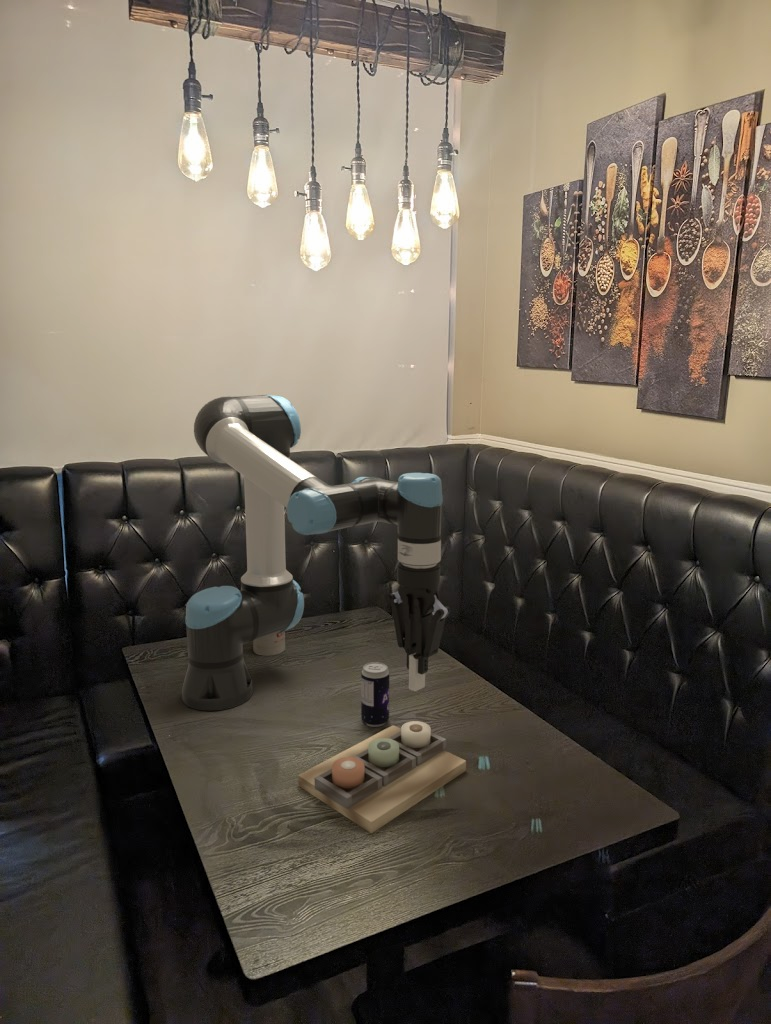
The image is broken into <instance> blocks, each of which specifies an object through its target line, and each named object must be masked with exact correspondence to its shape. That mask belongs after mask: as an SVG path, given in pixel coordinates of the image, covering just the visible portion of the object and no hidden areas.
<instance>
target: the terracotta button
mask: <svg viewBox="0 0 771 1024" xmlns="http://www.w3.org/2000/svg"><path fill="white" fill-rule="evenodd" d="M364 769H365V766H364V763H363V761H362V760H360V759H358V758H355V757H343V758H340V759H337V760H336V761H335V762H334V763H333V764H332V781H333V783H334V784H335V785H336V786H338V787H341V788H354V787H357V786H359V785H361V784H362V783H363V782H364Z"/></svg>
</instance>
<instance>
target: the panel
mask: <svg viewBox="0 0 771 1024" xmlns="http://www.w3.org/2000/svg"><path fill="white" fill-rule="evenodd" d="M379 738H388V739H392V740H394V741H396V742H397V743H398V744H399V761H398V763H397V764H395V765H393V766H390V767H377V766H374V765H372V764H371V763H370V762H369V760H368V745H369V743H370V742H371V741H373V740H375V739H379ZM343 757H355V758H358V759H360V760H362V761H363V763H364V766H365V769H364V782H363V783H362V784H361V785H359V786H357V787H354V788H341V787H338V786H336V785H335V784H334V783H333V781H332V764H333V763H334V762H335V761H336V760H337V759H340V758H343ZM466 771H467V760H465V759H464V758H461V757H459V756H458V755H455V754H453V753H451V752H449V751H447V738H444V737H442V736H440V735H438V734H437V733H434V732H432V731H431V738H430V744H429V745H428V746H426V747H423V748H410V747H407V746H405V745H404V744H403V743H402V742H401V727H398V726H396V725H394V724H392V725H390V726H389V727H386V728H385V729H383V730H381V731H379V732H377V733H375V734H373V735H372V736H370V737H367V738H366V739H364V740H362V741H360V742H358V743H356V744H355V745H352V746H351V747H349V748H347V749H345V750H343V751H340V752H339V753H337V754H335V755H334V756H332V757H330V758H328V759H325V760H324V761H322V762H320V763H318V764H317V765H315V766H313V767H311V768H308V770H307V769H306V771H304V772H302V773H300V774H298V775H297V782H298V783H297V785H298V787H300V788H301V789H303V790H304V791H306V792H307V793H308V794H310V795H312V796H314V797H315V798H316V799H318V800H320V801H322V802H323V803H324V804H326V805H327V806H329V807H331V808H332V809H333V810H335V811H337V812H338V813H340V814H341V815H342V816H344V817H346V818H347V819H349V820H350V821H352V822H353V823H355V824H356V825H358V826H359V827H361V828H363V829H364V830H365V831H366V832H369V833H371V834H373V833H374V832H376V831H378V830H379V829H380V828H382V827H384V826H386V824H388V823H389V822H391V821H392V820H394V819H395V818H397V817H399V816H400V815H402V814H404V813H405V812H406V811H407V810H409V809H410V808H412V807H413V806H415V805H417V804H418V803H419V802H421V801H423V800H424V799H425V798H427V797H429V796H430V795H432V794H433V793H434V792H436V791H437V790H439V789H440V788H442V787H444V786H445V785H446V784H448V783H450V782H451V781H453V780H454V779H456V778H458V777H459V776H460V775H462V774H463V773H465V772H466Z"/></svg>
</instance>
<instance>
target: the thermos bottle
mask: <svg viewBox="0 0 771 1024" xmlns="http://www.w3.org/2000/svg"><path fill="white" fill-rule="evenodd" d="M285 631H286V630H285ZM285 631H284V632H282V633H279V634H274V635H270V636H267V637H264V638H260V639H257V640H254V641H252V642H253V643H252V645H253V647H252V649H253V652H254V654H256V655H258V656H266V657H267V656H276V655H279V654H281V653H283V652H284V651H285V650H286V636H285V635H286V632H285Z"/></svg>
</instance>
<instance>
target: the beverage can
mask: <svg viewBox="0 0 771 1024" xmlns="http://www.w3.org/2000/svg"><path fill="white" fill-rule="evenodd" d="M360 672H361V675H360V677H361V679H360V680H361V681H360V691H361V693H360V694H361V695H360V697H361V698H360V702H361V705H360V709H361V712H360V715H361V717H360V718H361V720H362V722H363V723H364V724H365V725H367V726H368V727H371V728H372V727H373V728H377V727H382V726H384V725H385V724H386V723H387V722H388V721H389V719H390V671H389V667H388V666H387V664H385V663H383V662H378V661H373V662H367V663H366V664H364V665H363V668H362V671H360Z"/></svg>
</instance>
